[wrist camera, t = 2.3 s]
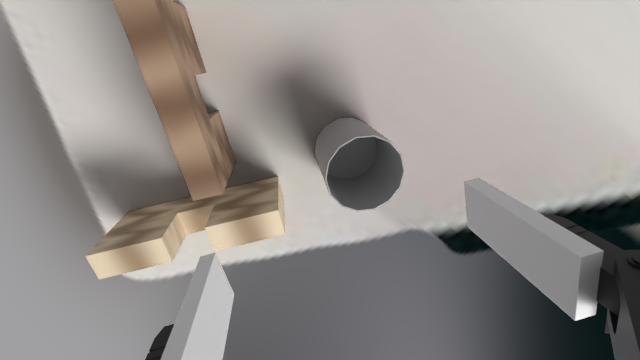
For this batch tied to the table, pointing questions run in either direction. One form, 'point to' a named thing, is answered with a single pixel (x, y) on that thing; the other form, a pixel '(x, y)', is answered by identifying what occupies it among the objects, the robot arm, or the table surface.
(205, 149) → the walnut plate
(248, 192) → the notched wooden slab
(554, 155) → the table surface
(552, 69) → the table surface
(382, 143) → the cup
